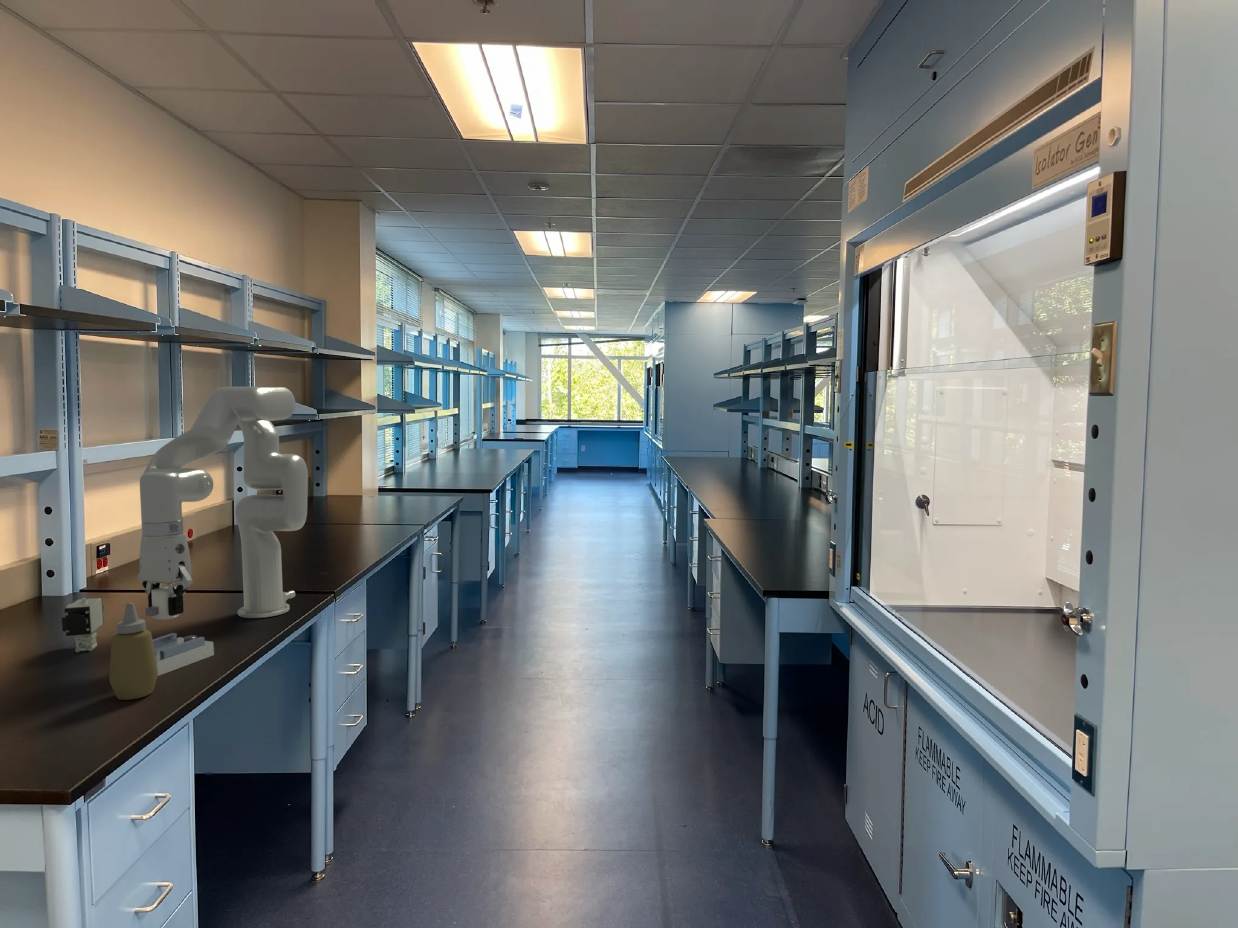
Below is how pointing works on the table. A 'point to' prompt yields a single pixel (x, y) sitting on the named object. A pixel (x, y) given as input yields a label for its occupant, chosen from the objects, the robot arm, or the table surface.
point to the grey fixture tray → (180, 651)
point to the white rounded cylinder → (160, 604)
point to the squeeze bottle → (132, 658)
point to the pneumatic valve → (83, 622)
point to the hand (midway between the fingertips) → (166, 612)
